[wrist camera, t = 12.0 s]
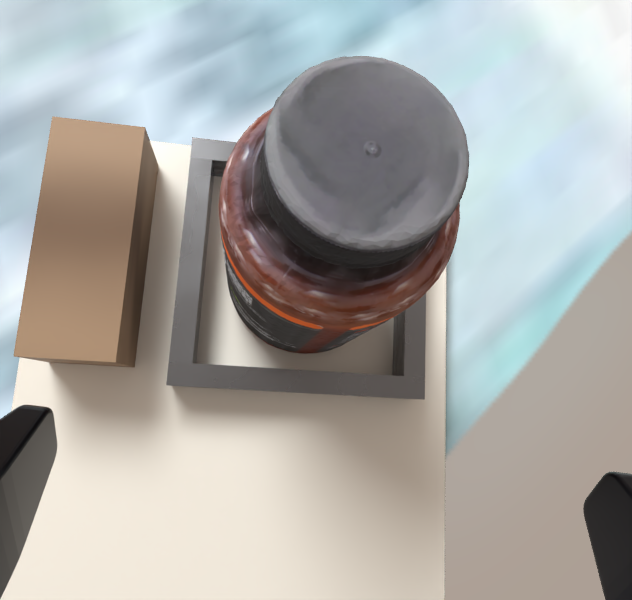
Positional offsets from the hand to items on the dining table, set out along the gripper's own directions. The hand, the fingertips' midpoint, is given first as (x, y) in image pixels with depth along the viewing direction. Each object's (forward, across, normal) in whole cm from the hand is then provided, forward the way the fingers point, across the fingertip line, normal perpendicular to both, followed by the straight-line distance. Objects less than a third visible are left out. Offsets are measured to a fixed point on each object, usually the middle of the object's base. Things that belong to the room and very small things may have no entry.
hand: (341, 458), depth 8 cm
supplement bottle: (+12, 0, +4) cm, 13 cm away
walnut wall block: (+13, +8, +5) cm, 15 cm away
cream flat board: (+10, +2, +8) cm, 13 cm away
